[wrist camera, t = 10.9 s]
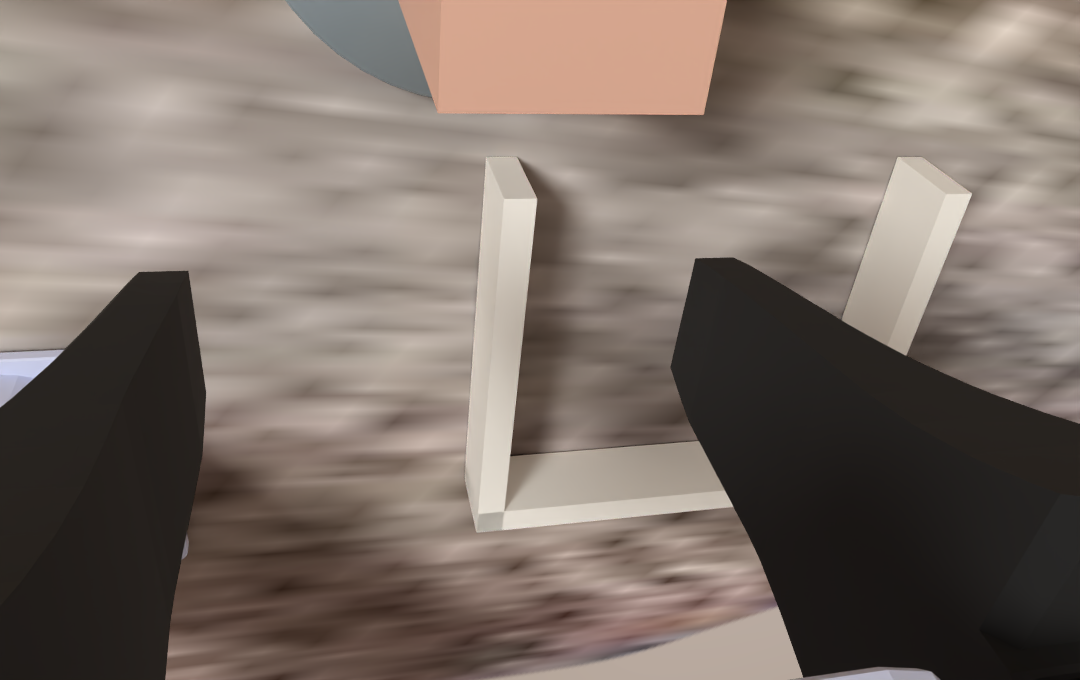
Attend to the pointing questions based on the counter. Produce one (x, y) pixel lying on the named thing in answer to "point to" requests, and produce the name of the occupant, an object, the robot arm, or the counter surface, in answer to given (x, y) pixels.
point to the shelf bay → (675, 468)
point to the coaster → (367, 38)
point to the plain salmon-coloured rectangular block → (567, 54)
